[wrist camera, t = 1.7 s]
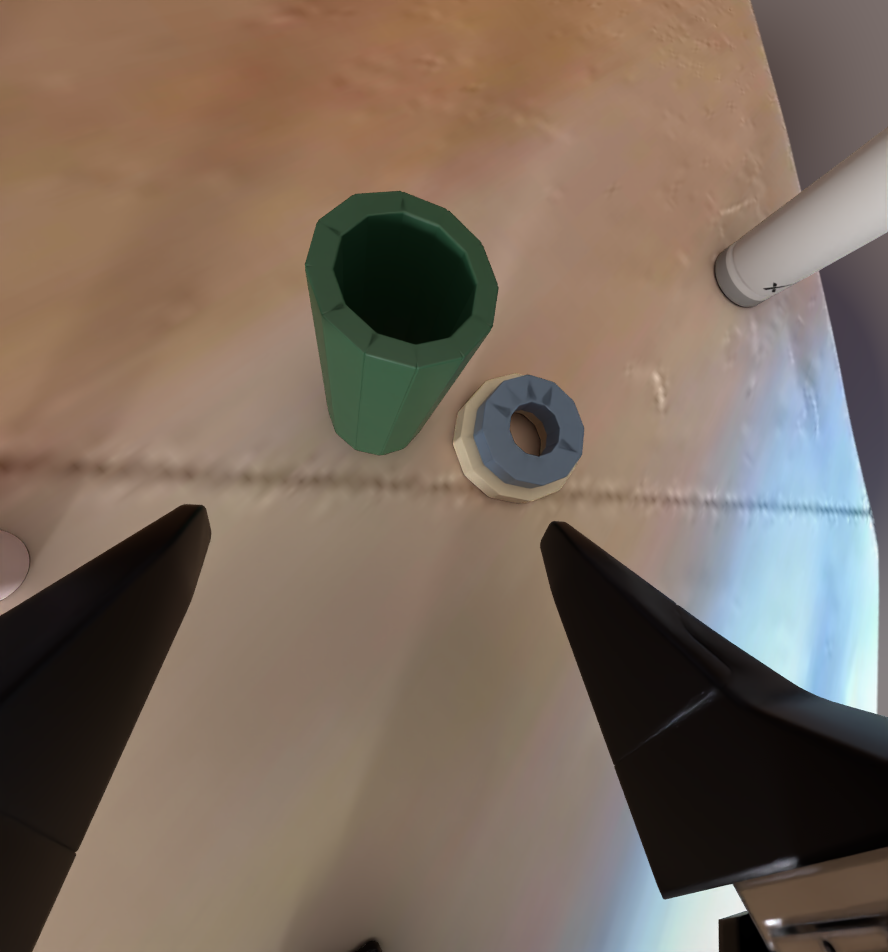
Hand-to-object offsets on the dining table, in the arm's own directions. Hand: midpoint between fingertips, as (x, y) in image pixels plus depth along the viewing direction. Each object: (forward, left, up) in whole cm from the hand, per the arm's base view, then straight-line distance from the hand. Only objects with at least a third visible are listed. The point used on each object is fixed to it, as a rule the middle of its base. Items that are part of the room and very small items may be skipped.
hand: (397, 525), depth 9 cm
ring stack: (+2, -11, -13) cm, 17 cm away
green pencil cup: (+7, -3, -13) cm, 15 cm away
